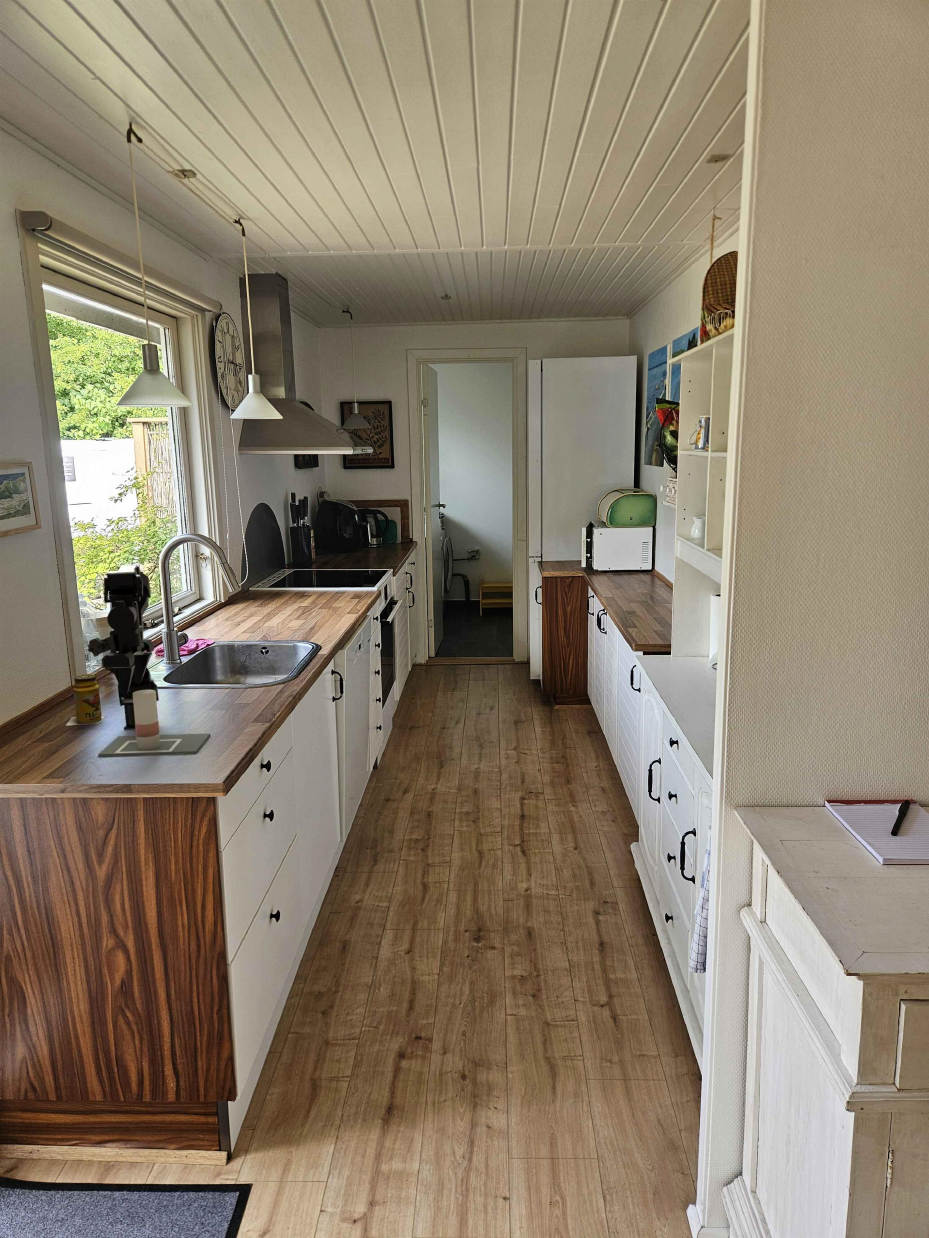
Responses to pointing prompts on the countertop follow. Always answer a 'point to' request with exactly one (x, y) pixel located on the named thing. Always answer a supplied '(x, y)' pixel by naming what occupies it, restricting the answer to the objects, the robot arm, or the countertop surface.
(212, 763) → the countertop surface
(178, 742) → the mat
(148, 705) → the player figure
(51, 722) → the countertop surface
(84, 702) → the condiment
